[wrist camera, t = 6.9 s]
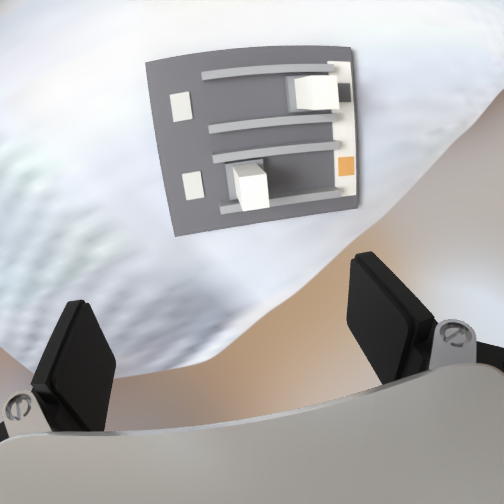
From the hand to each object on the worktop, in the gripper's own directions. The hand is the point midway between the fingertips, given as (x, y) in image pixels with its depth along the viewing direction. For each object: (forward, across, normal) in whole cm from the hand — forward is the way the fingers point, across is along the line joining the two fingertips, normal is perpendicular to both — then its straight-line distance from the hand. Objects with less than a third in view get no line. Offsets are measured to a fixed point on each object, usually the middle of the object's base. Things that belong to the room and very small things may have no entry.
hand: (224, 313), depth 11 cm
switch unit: (+20, -5, -3) cm, 21 cm away
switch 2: (+19, -9, -7) cm, 22 cm away
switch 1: (+19, -3, 0) cm, 19 cm away
